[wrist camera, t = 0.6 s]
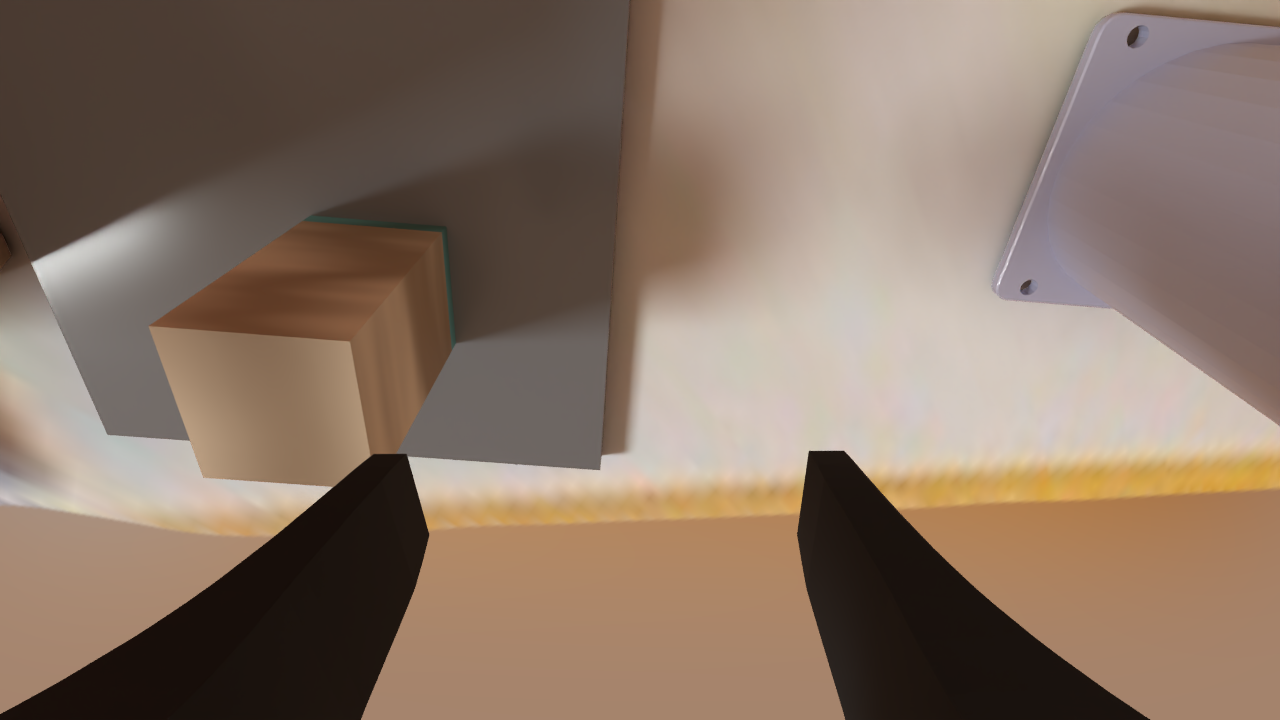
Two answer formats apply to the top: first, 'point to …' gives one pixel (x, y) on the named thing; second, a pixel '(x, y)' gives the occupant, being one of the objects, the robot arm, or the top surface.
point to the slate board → (328, 183)
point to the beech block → (311, 350)
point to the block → (3, 251)
